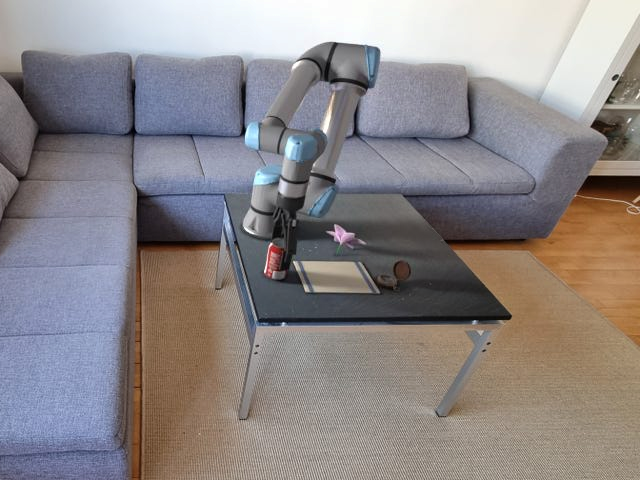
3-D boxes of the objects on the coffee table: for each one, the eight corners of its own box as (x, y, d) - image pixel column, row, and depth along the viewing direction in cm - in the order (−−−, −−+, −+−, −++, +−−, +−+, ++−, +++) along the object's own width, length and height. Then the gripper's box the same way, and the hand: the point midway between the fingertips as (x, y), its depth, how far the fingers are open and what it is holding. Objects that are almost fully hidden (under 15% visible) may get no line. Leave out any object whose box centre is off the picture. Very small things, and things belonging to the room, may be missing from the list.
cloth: (293, 261, 144) (293, 260, 144) (360, 262, 144) (361, 261, 144) (306, 292, 131) (306, 291, 131) (380, 293, 131) (380, 292, 131)
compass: (371, 278, 137) (378, 259, 132) (392, 275, 139) (400, 255, 134) (388, 294, 130) (396, 274, 126) (410, 290, 132) (419, 270, 128)
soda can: (286, 283, 134) (293, 250, 127) (263, 280, 135) (269, 247, 128) (285, 270, 140) (292, 238, 133) (264, 267, 141) (269, 235, 134)
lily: (364, 262, 146) (373, 234, 144) (340, 256, 140) (350, 227, 139) (335, 254, 156) (344, 227, 155) (312, 248, 150) (321, 221, 149)
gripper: (318, 215, 111) (302, 281, 124) (294, 173, 131) (282, 233, 144) (288, 215, 111) (275, 281, 124) (269, 173, 131) (259, 233, 144)
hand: (279, 255), depth 134 cm, fingers open, 13 cm apart
